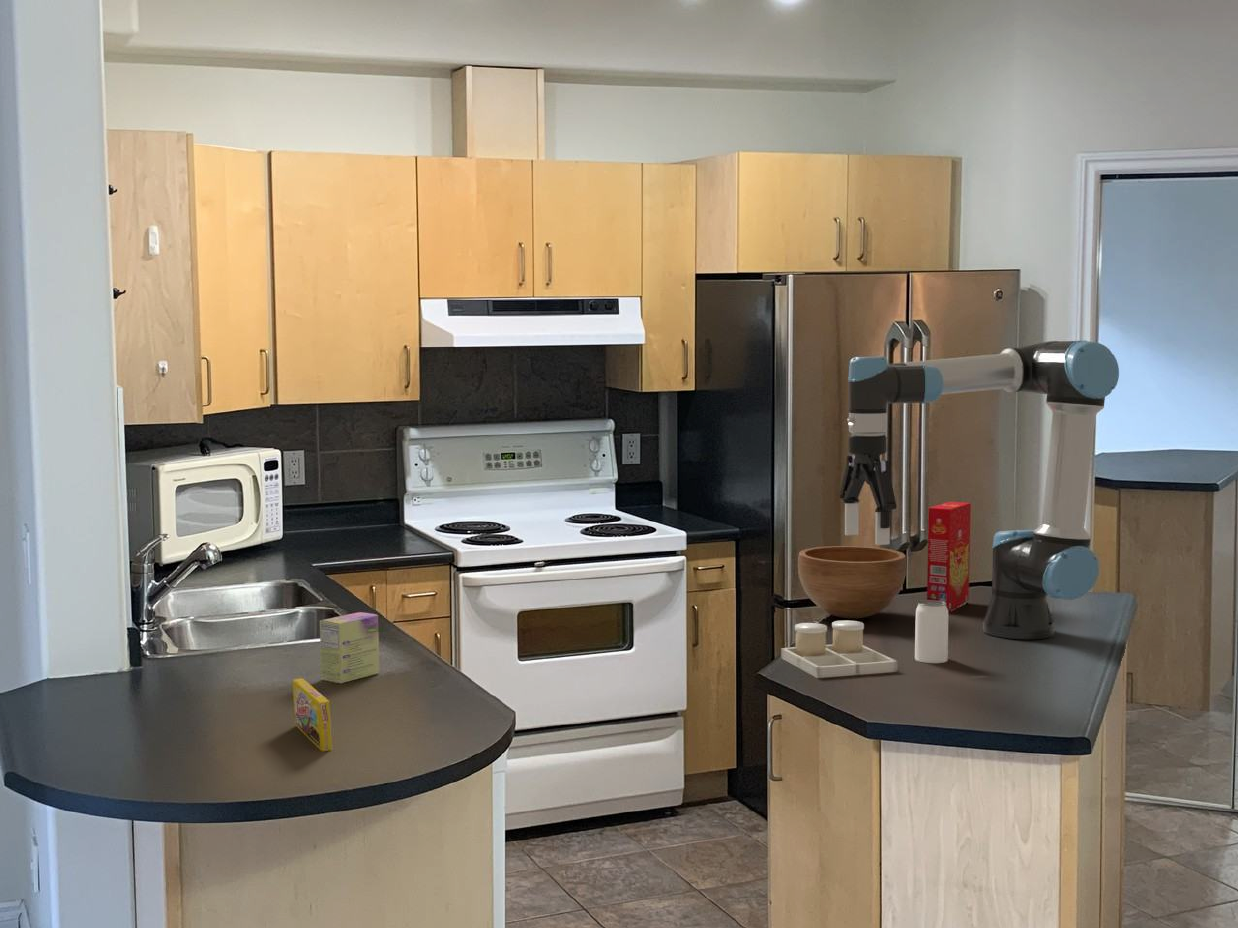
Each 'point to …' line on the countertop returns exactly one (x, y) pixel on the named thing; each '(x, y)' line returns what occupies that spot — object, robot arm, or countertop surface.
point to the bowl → (851, 578)
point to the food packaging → (949, 553)
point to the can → (931, 632)
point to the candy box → (312, 714)
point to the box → (349, 647)
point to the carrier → (841, 662)
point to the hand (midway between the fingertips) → (866, 539)
